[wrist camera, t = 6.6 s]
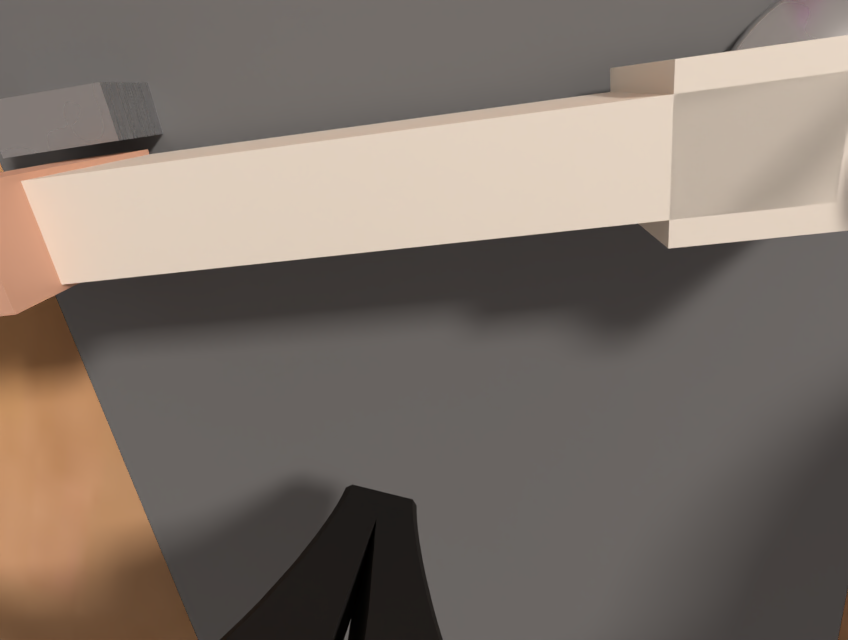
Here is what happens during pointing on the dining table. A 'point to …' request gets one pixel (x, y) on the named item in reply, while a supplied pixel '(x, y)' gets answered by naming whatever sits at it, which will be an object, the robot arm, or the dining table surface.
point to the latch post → (76, 117)
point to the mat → (464, 341)
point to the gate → (459, 177)
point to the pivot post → (795, 23)
